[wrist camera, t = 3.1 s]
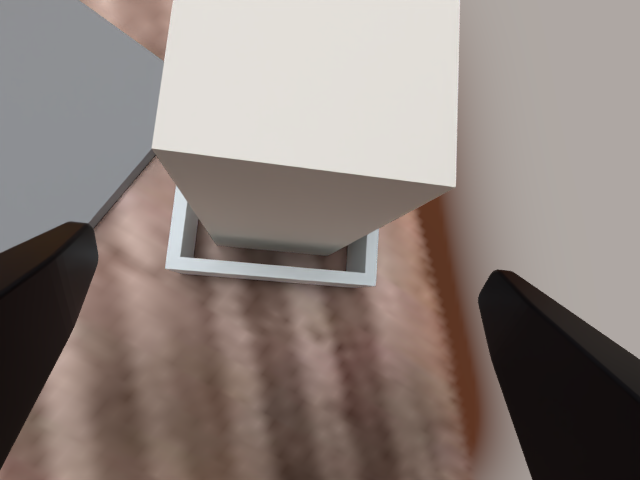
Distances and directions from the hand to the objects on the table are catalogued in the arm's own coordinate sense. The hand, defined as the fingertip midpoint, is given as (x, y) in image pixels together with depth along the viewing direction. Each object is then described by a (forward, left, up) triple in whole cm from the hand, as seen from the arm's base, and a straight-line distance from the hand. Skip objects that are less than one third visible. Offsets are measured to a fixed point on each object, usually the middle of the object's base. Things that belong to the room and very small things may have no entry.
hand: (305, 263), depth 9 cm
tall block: (+4, +2, -11) cm, 12 cm away
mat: (0, +14, -11) cm, 18 cm away
